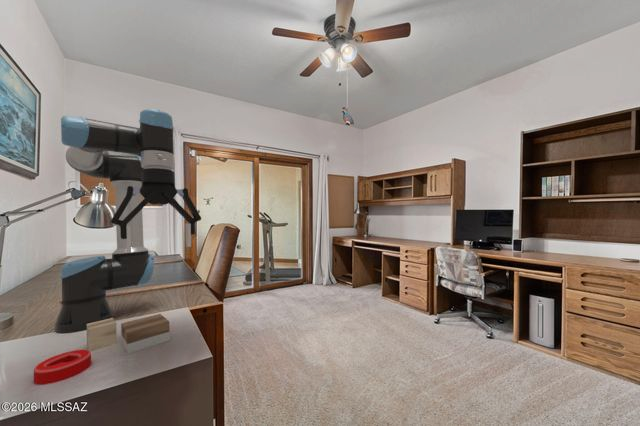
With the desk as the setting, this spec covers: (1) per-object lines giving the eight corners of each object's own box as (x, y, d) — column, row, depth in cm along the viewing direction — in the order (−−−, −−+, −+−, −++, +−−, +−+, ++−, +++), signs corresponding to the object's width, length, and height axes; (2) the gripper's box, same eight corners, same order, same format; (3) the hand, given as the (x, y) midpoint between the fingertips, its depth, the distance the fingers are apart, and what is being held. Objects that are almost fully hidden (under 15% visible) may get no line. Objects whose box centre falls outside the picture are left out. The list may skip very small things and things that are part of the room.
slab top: (121, 333, 76) (121, 323, 76) (160, 323, 83) (160, 313, 83) (127, 344, 68) (126, 332, 69) (169, 331, 76) (169, 321, 76)
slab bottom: (121, 344, 75) (121, 334, 75) (160, 332, 82) (160, 323, 83) (128, 355, 68) (128, 344, 68) (170, 341, 75) (170, 331, 76)
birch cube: (87, 344, 75) (86, 324, 75) (113, 337, 79) (112, 317, 80) (89, 351, 71) (88, 329, 71) (116, 343, 75) (116, 322, 75)
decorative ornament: (87, 357, 68) (87, 345, 68) (94, 369, 62) (94, 356, 62) (32, 375, 61) (32, 362, 61) (34, 391, 54) (34, 376, 54)
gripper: (96, 162, 58) (98, 256, 58) (211, 171, 74) (213, 245, 74) (97, 168, 64) (99, 253, 64) (203, 175, 80) (205, 244, 80)
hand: (160, 249), depth 69 cm, fingers open, 13 cm apart
